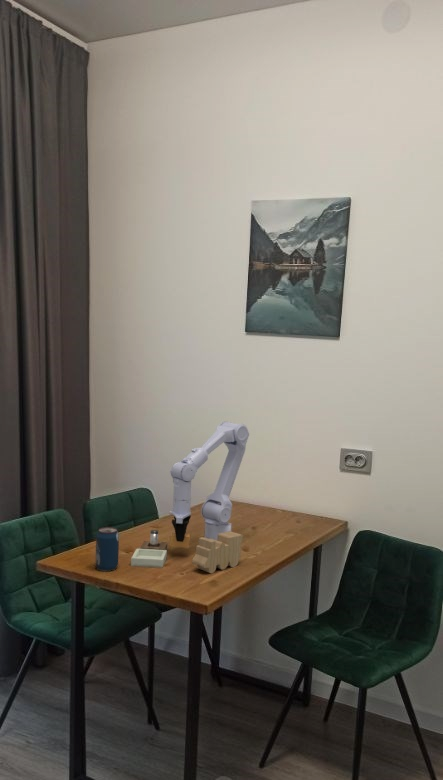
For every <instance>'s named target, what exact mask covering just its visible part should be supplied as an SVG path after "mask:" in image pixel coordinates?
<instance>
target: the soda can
mask: <svg viewBox="0 0 443 780" xmlns="http://www.w3.org/2000/svg"><path fill="white" fill-rule="evenodd" d="M95 536H96V537H95V538H96V539H95V563H94V564H95V566H96V569H97V570H98V571H101V572H110V571H111V570H112V571H114V570H115V569H117V567H118V566H119V552H120V551H119V549H120V545H119V543H120V534H119V531H118V529H117V528H115V527H112V526H111V527H110V526H107V527H105V526H103V527H101V528H99V529H98V531H97V533H96V535H95Z"/></svg>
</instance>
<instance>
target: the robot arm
mask: <svg viewBox="0 0 443 780" xmlns="http://www.w3.org/2000/svg"><path fill="white" fill-rule="evenodd" d="M215 429H216V430H215V431H214V432H213V434H212V435H211V436H210V437H209V438H208V439H207V440H206V441H205V442H204V443H203V445H202V446H201V447H195V448H192V449H191V452H190V453H188V455H186V456H185V457H183V458H182V460H181V461H178V462H176V463H174V464H173V465H172V467H171V470H170V471H169V472H170V473H169V474H170V476H171V478H172V483H173V495H172V496H173V502H172V503H173V504H172V510H169V515H173V519H171V523H172V524H171V525H172V527H173V528H174V533H175V534H176V540H177V541H179V542H183V540H184V536H185V534H187V529H188V528H187V527H188V526H189V523H190V519H191V515H192V511H191V503H192V502H191V501H192V500H191V499H192V480H194V479H195V476H196V474H197V472H198V470H199V468H201V467H202V466H203V465H204V464H205V463H206V462H207V461H208V459H209V458H208V457H209V455H210V454H211V453H212V452H213V451H215V450H216V449H217V448H218V447H219V446H220V445H222V444H223V443H224V445H225V446H226V447H227V450H228V452H227V455H226V458H225V461H224V463H223V466H222V469H221V472H220V475H219V477H218V480H217V484H216V486H215V489H214V492H213V493H211V494H209V495H208V496H207V497H206V500H205V501H204V503H203V504H202V506H201V508H200V514H201V516H202V517H203V522H204V538H207V539H214V540H217V538H218V534H219V533H224V532H229V531H231V532H232V522H229V520H230V519H231V517H232V508H233V503H232V501H231V499H230V496H231V492H232V489H233V486H234V484H235V480H236V478H237V475H238V472H239V469H240V467H241V465H242V461H243V458H244V455H245V452H246V446H247V442H248V440H249V437H250V433H249V430H248V427H247V425H245V424H243V423H235V422H228V421H226V420H225V421H222V422H221V423H219V424H218V425H217V426H216V428H215Z"/></svg>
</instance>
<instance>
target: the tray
mask: <svg viewBox="0 0 443 780" xmlns="http://www.w3.org/2000/svg"><path fill="white" fill-rule="evenodd" d="M167 556H168V549H167V550H154V549H140V548H136V549H135V551H134V553H133V555H131V558H130V566H131V567H142V568H143V567H144V568H146V567H147V568H159V569H161V568H162V569H163V568H164V566H165V564H166V561H167V558H168V557H167Z"/></svg>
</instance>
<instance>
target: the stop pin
mask: <svg viewBox="0 0 443 780" xmlns="http://www.w3.org/2000/svg"><path fill="white" fill-rule="evenodd" d="M149 534H150V535H149V536H150V537H149V538H150V540H149V541H150V547H158V542H159V530H158V529H151V530H150V533H149Z"/></svg>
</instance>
